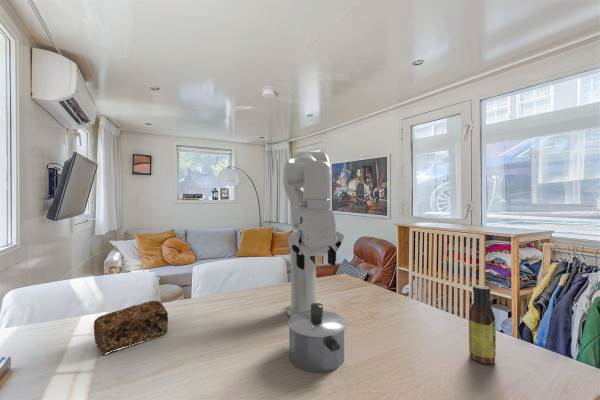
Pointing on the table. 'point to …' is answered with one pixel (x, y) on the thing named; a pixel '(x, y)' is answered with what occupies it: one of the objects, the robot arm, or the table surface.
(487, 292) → the sauce bottle
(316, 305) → the lid
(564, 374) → the table surface
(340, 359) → the pot
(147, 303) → the bread
